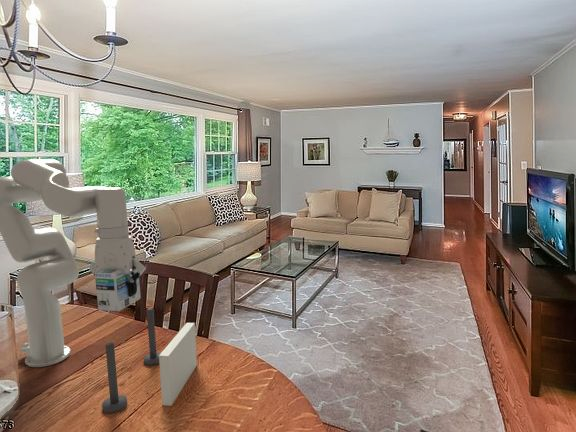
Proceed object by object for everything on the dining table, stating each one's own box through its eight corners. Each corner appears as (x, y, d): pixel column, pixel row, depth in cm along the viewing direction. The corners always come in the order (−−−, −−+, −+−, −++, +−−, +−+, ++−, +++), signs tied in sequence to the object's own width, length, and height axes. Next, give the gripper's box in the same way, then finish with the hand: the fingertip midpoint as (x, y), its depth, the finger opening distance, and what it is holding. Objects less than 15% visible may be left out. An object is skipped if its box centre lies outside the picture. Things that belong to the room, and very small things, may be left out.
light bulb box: (119, 312, 106) (115, 273, 104) (97, 310, 107) (93, 272, 106) (141, 297, 116) (138, 262, 114) (121, 296, 118) (118, 261, 116)
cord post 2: (140, 365, 124) (136, 312, 121) (148, 355, 130) (145, 305, 127) (158, 366, 123) (155, 313, 121) (166, 356, 129) (163, 306, 126)
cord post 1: (97, 412, 101) (91, 349, 99) (110, 398, 107) (105, 338, 104) (119, 414, 101) (114, 350, 98) (131, 399, 107) (126, 339, 104)
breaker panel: (157, 404, 104) (154, 355, 102) (185, 364, 124) (183, 322, 122) (171, 405, 104) (168, 356, 102) (196, 365, 123) (194, 322, 121)
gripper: (75, 235, 106) (82, 299, 109) (137, 235, 104) (142, 300, 106) (92, 230, 113) (98, 289, 116) (150, 229, 111) (155, 290, 114)
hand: (119, 294), depth 111 cm, fingers closed on light bulb box, 7 cm apart
